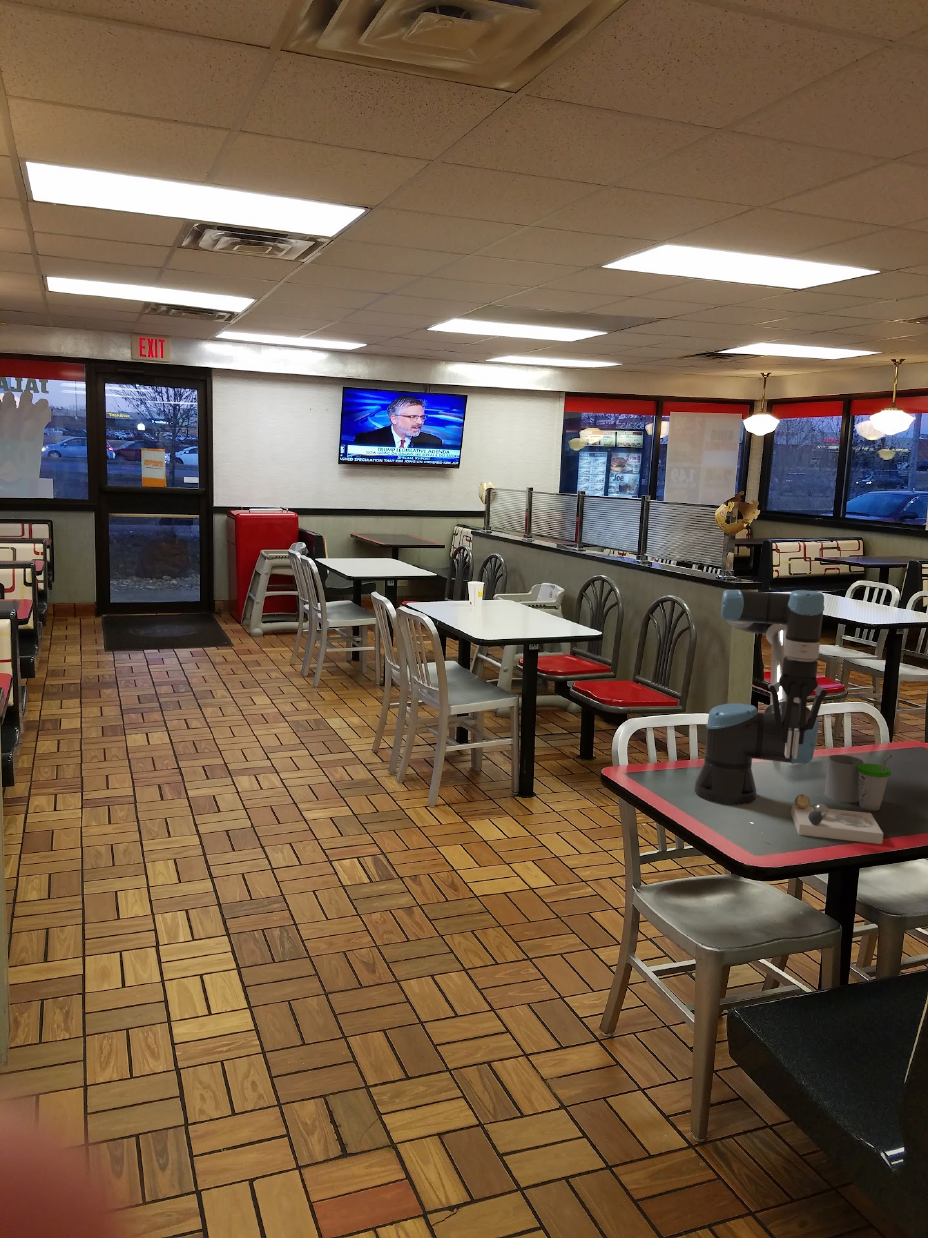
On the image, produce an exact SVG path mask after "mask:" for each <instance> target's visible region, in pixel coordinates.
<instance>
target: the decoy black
mask: <svg viewBox="0 0 928 1238" xmlns="http://www.w3.org/2000/svg"><path fill="white" fill-rule="evenodd" d="M808 818H809V821H810V822H811V823H813V824H819V823H820V822H821V821H822V815H821V813H820V812H818V811H812V812H811V813H810V814H809V816H808Z"/></svg>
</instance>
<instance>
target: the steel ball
mask: <svg viewBox="0 0 928 1238" xmlns="http://www.w3.org/2000/svg"><path fill="white" fill-rule="evenodd" d="M813 807H814V811H818V812H820V813H821V815H822V817H825V816H826V815H827V814H828V809H829V808H828V806H827V805H826V804H824V803H817V804H816V805H814V806H813Z"/></svg>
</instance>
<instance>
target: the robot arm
mask: <svg viewBox="0 0 928 1238" xmlns="http://www.w3.org/2000/svg"><path fill="white" fill-rule="evenodd" d="M721 597H722V599H721V610H720V617H721V619H723V620H725V622H726V623H727V624H728V625H729V626H731V627H733V628H735V629H737V630H740V631H744V632H747V633H751V634H760V635H765V638H766V640H767V642H768V643H769V644H770V645H771V649H770V650H771V654H770V655H771V657H770V662H771V663H770V683H769V684H768V686H767V687H768V689H769V691H770V699H769V701H770V704H769V705H767V706H766V707H765V709H764V711H763V712H758V709H757V707H756V706H755V705H752V704H747V703H737V702H736V703H735V702H734V703H723V704H720V705H716V706H714V707H712V708H711V709H710V710H709V713H708V716H707V717H708V719H707V723H706V730H707V731H706V739H705V748H704V749H705V750H704V759H703V765H702V766H701V767H700V768H701V769H700V771H699V773H698V775H697V778H696V779H695V783H694V792H696V793H695V794H696V795H697V796H699V797H701V798H703V799H705V800H707V801H710V802H714V803H719V804H722V805H723V804H725V805H737V806H738V805H747V804H751V803H753V802H754V801H756V797H757V788H756V784H755V780H754V775H753V770H752V762H753V759H754V760H755V759H756V760H763V761H772V762H779V763H788V764H791V765H792V764H793V765H795V764H799V765H800V764H801V765H807V764H809V763H811V762H812V760H813V756H814V753H815V750H816V744H817V739H818V733H819V726H820V720H819V719H818V715H819V712H820V708H821V705H822V703H823V700H824V699H825V698H826V696H827V695H828V691H827V689H826V688H824V687H822V686H820V685H819V683H818V680H817V675H818V674H817V673H818V666H819V664H818V663H819V661H818V660H817V659H818V658H819V655H820V646H821V645H820V643H821V633H822V625H823V618H824V617H823V616H824V611H825V595H824V594H823V593H821V592H818V591H814V590H808V589H807V590H806V589H799V590H797V589H796V590H793V591H791V593H785V592H783V593H782V592H768V591H767V592H765V591H755V590H740V589H725V590H724V591H723V593H722V596H721ZM814 691H815V692H814ZM813 692H814V694H815V697H814V699H813V702H812V705H811V709H810V708H809V707H808V706H807V703H808V697H809V696H810V695H811V694H812V693H813Z"/></svg>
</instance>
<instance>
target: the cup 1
mask: <svg viewBox="0 0 928 1238" xmlns="http://www.w3.org/2000/svg"><path fill="white" fill-rule="evenodd" d="M859 764H865V763H864V760H863V759H860V758H859V757H855V756H851V755H845V754H831V755H829V756H828V758H827V769H826V777H825V785H824V796H825V797H826V798H828V799H830V800H832V801H835V802H840V803H844V804H845V803H848V804H850V803H851V804H854V803H857V802H859V775H858V771H857V765H859Z"/></svg>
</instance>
